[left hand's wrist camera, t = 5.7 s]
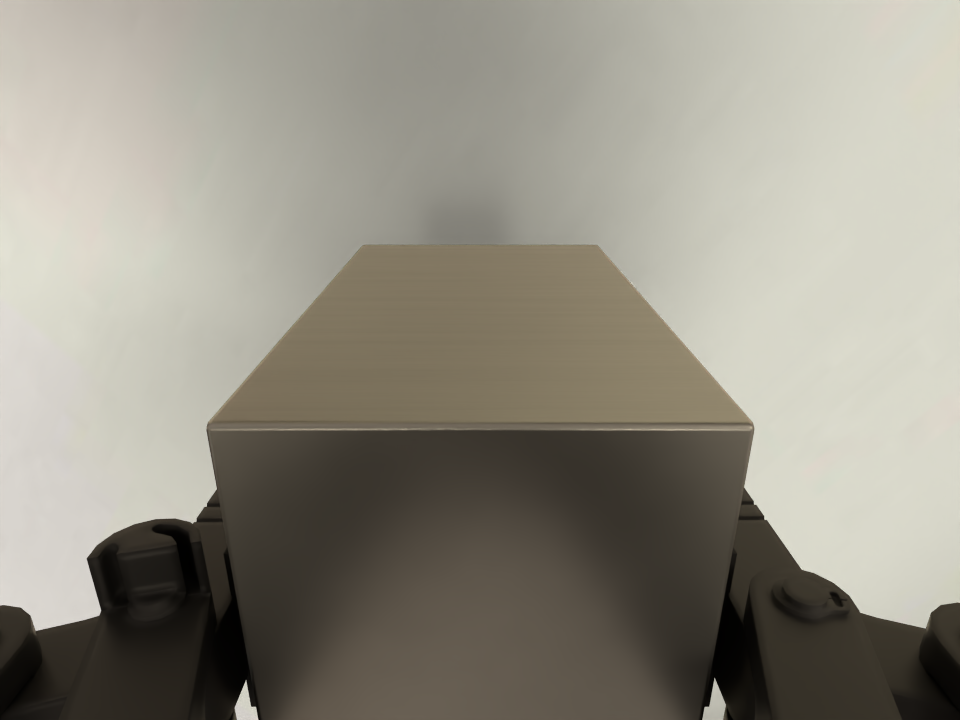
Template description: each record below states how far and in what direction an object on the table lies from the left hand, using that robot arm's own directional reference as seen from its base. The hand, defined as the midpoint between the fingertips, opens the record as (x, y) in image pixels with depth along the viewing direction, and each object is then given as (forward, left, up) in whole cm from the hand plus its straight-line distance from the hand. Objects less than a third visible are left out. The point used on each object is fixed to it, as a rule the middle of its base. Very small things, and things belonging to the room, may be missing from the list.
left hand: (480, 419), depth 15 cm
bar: (+9, 0, -1) cm, 9 cm away
